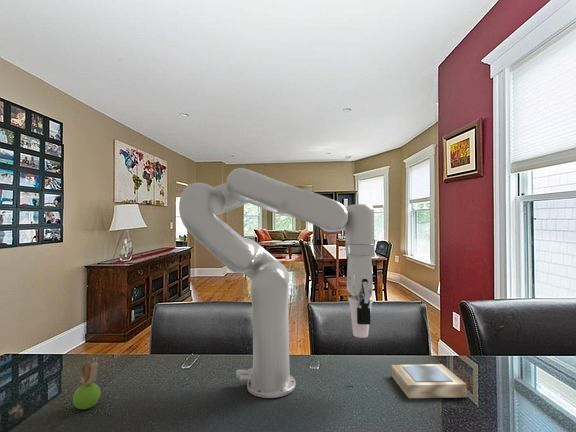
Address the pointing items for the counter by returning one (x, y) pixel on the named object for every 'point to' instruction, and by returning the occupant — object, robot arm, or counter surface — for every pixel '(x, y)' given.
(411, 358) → the counter surface
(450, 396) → the plinth
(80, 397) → the snail figurine
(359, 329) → the smoothie
